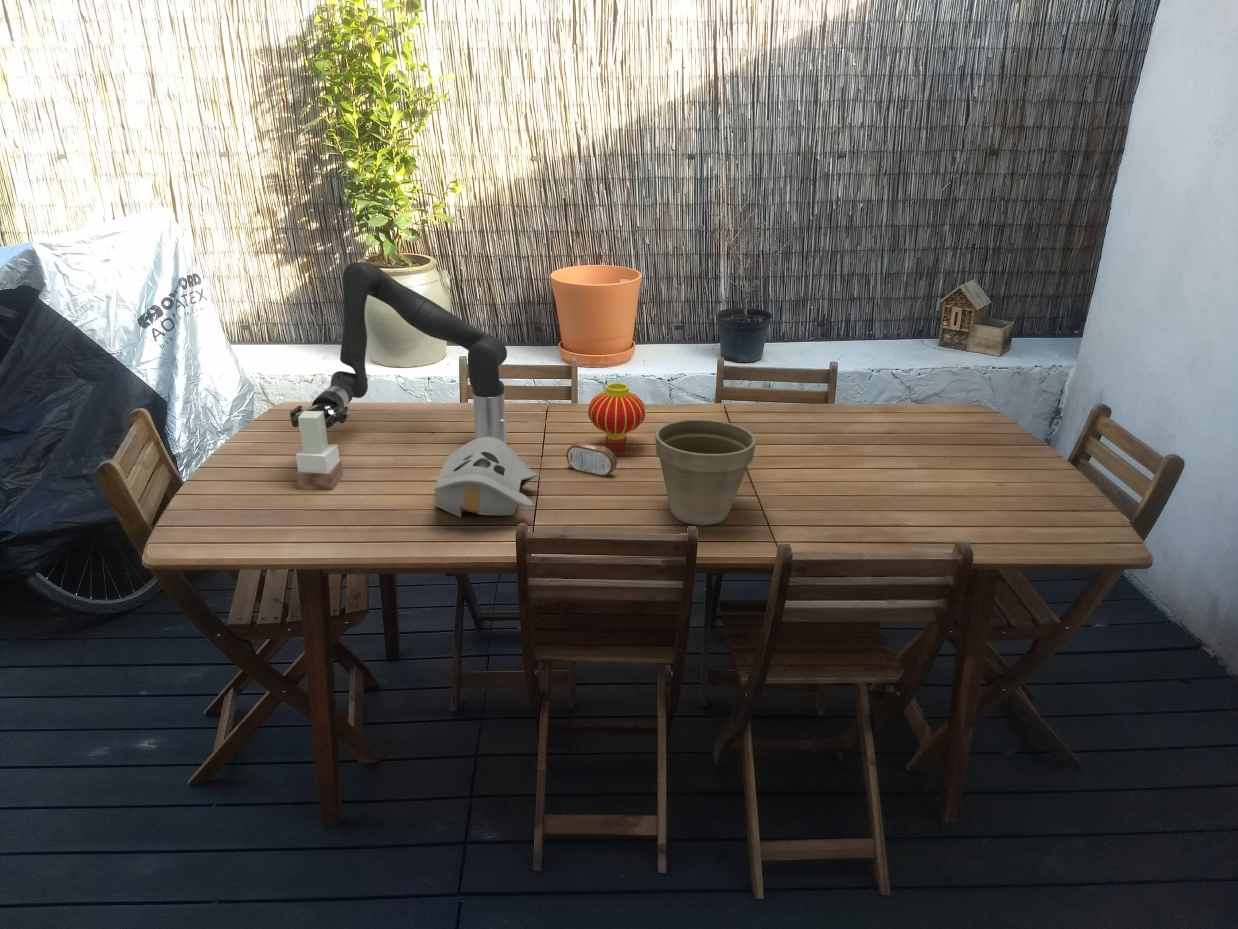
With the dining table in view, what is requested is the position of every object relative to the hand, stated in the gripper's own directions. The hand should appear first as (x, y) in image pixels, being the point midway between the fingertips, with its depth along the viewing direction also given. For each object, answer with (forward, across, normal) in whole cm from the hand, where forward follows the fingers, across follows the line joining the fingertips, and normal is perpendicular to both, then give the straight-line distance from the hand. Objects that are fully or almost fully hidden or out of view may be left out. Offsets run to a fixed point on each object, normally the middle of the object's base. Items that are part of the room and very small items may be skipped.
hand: (310, 424), depth 209 cm
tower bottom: (-1, 0, +18) cm, 18 cm away
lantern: (-29, +80, +18) cm, 87 cm away
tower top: (-1, 0, +13) cm, 13 cm away
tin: (-12, +73, +18) cm, 76 cm away
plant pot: (+11, +102, +18) cm, 104 cm away
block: (-1, 0, +8) cm, 8 cm away
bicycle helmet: (+10, +47, +18) cm, 51 cm away
